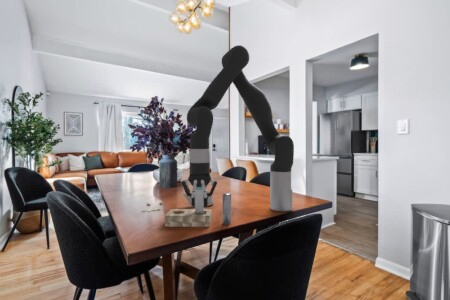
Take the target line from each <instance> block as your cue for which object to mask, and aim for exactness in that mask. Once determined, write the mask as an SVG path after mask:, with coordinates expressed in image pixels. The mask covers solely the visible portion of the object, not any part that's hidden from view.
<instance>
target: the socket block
mask: <svg viewBox="0 0 450 300" xmlns="http://www.w3.org/2000/svg"><path fill="white" fill-rule="evenodd" d="M212 213H213V212H212V209H205V214H195V208H193V209H188V208H186V209H182V208H177V209H176V208H175V209H174V208H173V209H170V210H169V211H168V212H167V213H166V214H165V215H164V222H165V223H164V227H169V228H170V227H171V228H174V227H175V228H176V227H177V228H178V227H180V228H187V227H188V228H192V227H193V228H200V227H201V228H206V227H207V228H210V227H211V224H212V220H213V218H212V215H213V214H212Z"/></svg>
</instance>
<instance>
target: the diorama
mask: <svg viewBox="0 0 450 300" xmlns="http://www.w3.org/2000/svg"><path fill="white" fill-rule="evenodd" d="M154 200H155V201H157V198H155V199H154ZM158 204H159V206H160V207H162V206H163V205H164V202H159V203H158ZM151 205H153V204H152V203H149V202H147V203H146V207H150V206H151ZM160 207H159V208H157V211H159V210H161V209H160ZM153 211H156V209H148V212H153Z"/></svg>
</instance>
